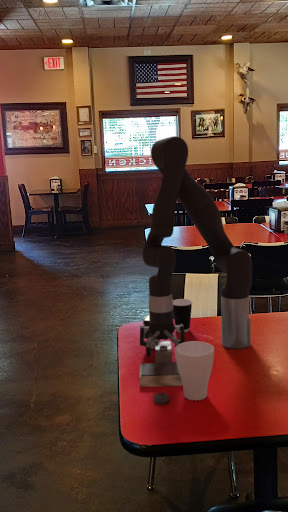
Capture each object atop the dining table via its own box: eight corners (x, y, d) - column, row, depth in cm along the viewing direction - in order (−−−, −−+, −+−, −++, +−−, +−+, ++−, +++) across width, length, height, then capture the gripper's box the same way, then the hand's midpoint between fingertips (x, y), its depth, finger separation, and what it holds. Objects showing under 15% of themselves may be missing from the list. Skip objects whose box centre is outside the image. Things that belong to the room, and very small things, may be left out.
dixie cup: (167, 331, 181) (166, 302, 179) (180, 325, 187) (179, 297, 185) (185, 335, 177) (184, 306, 174) (197, 328, 183) (196, 300, 180)
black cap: (169, 398, 131) (169, 392, 131) (168, 405, 127) (168, 400, 127) (154, 397, 131) (154, 392, 131) (153, 405, 128) (153, 400, 127)
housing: (155, 356, 159) (154, 338, 158) (170, 355, 159) (170, 338, 158) (156, 367, 151) (155, 349, 149) (172, 366, 151) (171, 348, 149)
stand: (180, 372, 146) (180, 361, 146) (182, 385, 137) (181, 374, 137) (140, 373, 147) (140, 362, 146) (139, 387, 138) (139, 375, 137)
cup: (175, 387, 137) (173, 341, 134) (212, 386, 136) (212, 340, 134) (176, 405, 126) (175, 356, 124) (217, 404, 126) (216, 355, 123)
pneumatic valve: (165, 341, 171) (164, 308, 169) (156, 354, 160) (155, 319, 158) (150, 340, 173) (149, 308, 171) (140, 353, 162) (139, 318, 160)
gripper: (183, 303, 155) (184, 351, 158) (138, 305, 155) (140, 353, 158) (184, 310, 147) (186, 361, 151) (137, 312, 148) (140, 362, 151)
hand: (162, 356), depth 154 cm, fingers open, 8 cm apart
